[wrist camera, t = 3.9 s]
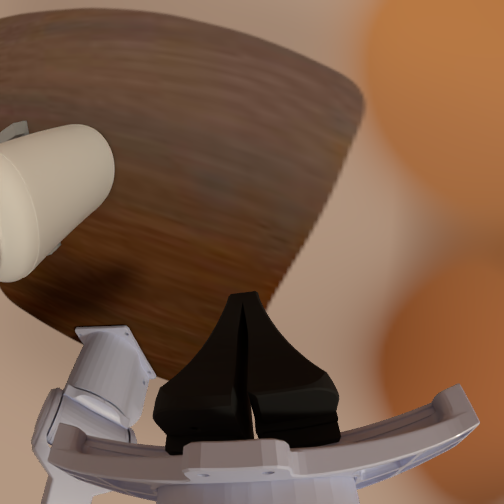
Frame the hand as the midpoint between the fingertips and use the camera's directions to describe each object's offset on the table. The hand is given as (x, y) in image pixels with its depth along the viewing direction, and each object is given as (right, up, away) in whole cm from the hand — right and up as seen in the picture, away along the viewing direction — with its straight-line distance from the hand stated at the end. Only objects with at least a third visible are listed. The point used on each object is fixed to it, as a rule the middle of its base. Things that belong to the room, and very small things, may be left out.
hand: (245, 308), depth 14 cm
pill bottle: (-15, +10, +6) cm, 19 cm away
